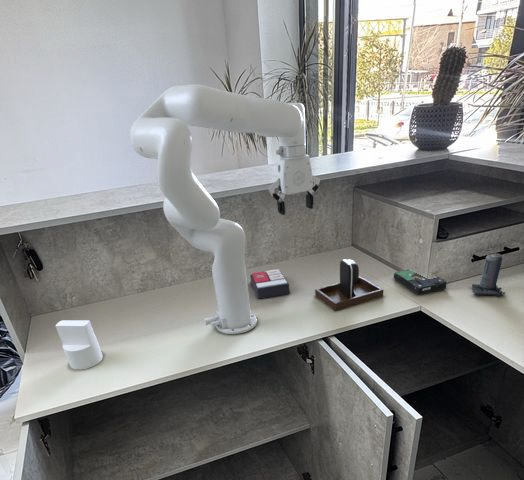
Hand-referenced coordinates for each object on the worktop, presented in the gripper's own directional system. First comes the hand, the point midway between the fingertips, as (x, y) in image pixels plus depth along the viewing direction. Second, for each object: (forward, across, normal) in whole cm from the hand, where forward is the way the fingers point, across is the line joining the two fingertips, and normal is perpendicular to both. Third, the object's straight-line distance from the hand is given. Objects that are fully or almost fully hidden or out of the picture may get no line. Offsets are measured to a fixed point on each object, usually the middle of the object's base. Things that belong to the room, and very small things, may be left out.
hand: (295, 210), depth 136 cm
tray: (+26, +10, -15) cm, 32 cm away
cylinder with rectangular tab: (+26, -72, -8) cm, 77 cm away
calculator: (+26, -9, +6) cm, 29 cm away
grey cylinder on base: (+26, +46, -36) cm, 64 cm away
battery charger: (+26, +10, -15) cm, 32 cm away
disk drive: (+26, +34, -20) cm, 47 cm away
